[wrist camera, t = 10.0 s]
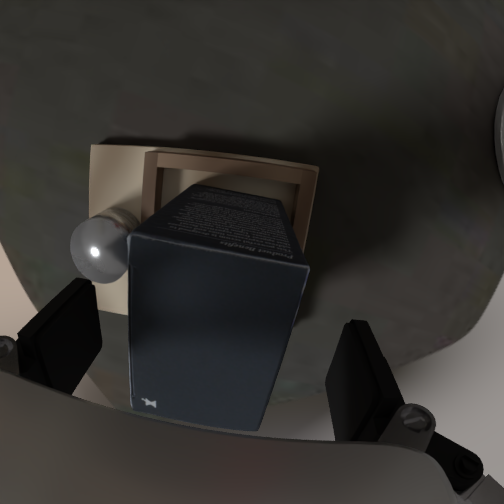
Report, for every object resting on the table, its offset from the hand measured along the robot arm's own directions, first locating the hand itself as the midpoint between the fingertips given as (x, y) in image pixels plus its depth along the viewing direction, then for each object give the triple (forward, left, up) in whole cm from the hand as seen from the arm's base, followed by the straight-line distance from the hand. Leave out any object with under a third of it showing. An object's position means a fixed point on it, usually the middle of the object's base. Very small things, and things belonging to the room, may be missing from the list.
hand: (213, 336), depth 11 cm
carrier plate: (+3, 0, -11) cm, 11 cm away
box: (0, 0, -10) cm, 10 cm away
